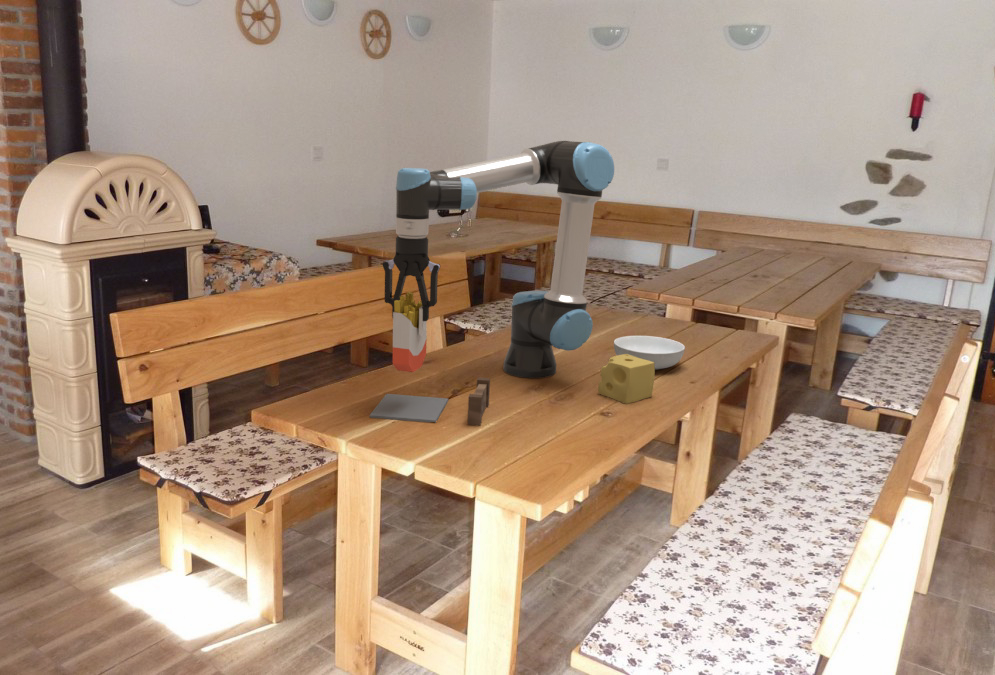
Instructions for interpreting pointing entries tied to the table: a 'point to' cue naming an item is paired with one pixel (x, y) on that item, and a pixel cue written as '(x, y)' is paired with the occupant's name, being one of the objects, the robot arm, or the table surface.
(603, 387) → the cheese
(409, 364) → the french fries container
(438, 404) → the slate mat
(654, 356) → the serving bowl
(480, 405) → the walnut fence
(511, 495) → the table surface
